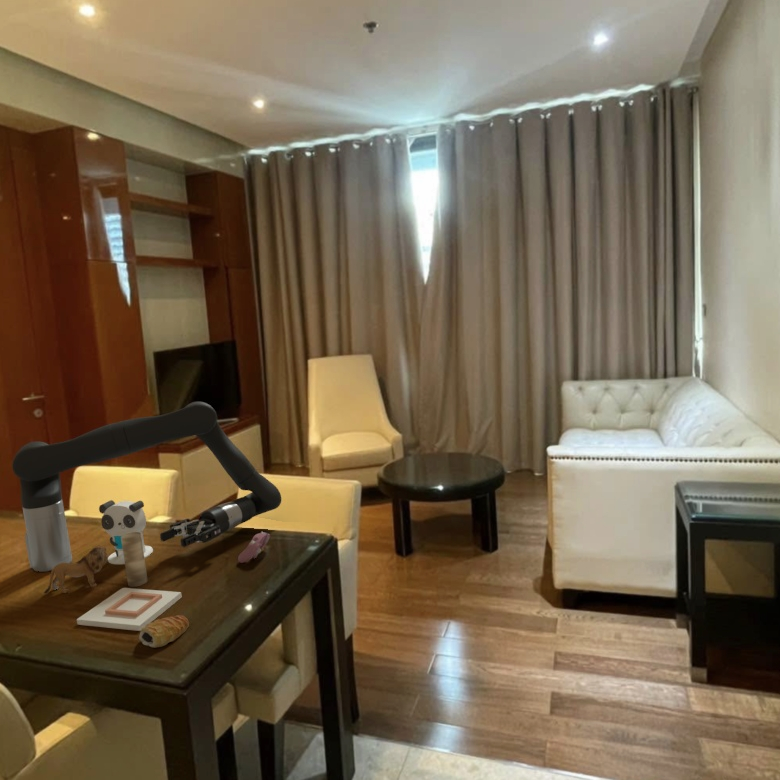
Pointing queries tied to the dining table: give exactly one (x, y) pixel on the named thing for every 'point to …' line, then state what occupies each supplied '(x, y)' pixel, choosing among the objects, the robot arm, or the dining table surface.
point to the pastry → (163, 631)
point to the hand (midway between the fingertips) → (171, 540)
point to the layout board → (129, 609)
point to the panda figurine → (123, 525)
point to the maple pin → (134, 559)
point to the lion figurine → (79, 568)
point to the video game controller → (254, 547)
